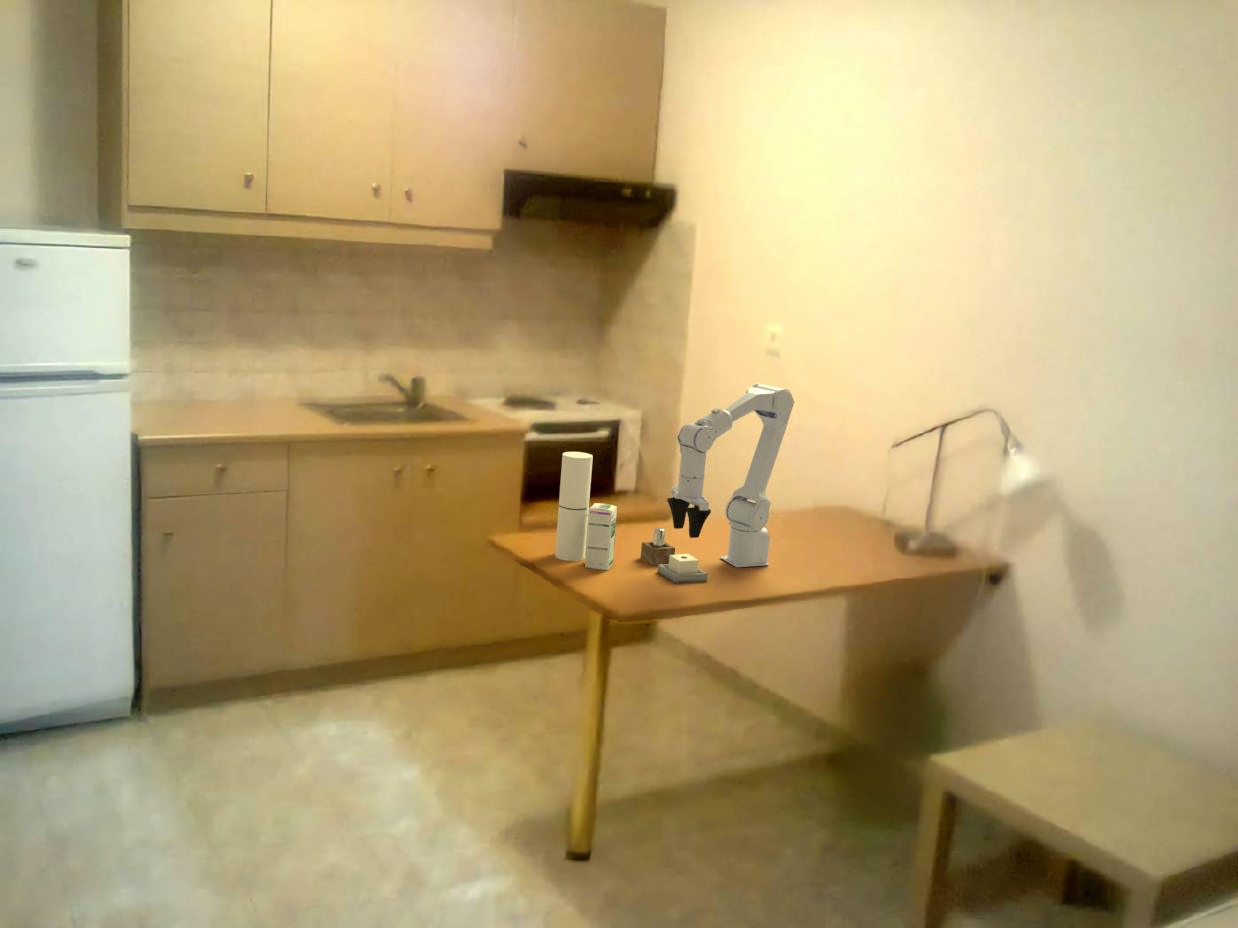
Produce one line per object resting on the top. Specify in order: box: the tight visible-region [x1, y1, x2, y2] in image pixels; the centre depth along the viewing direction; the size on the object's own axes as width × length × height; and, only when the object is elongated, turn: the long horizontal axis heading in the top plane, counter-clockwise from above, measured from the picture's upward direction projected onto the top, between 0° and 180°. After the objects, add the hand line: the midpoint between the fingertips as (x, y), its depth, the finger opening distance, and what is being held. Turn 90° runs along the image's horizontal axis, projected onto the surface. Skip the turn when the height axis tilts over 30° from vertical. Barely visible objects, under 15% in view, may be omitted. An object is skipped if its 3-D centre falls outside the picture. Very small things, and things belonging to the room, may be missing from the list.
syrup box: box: [584, 502, 618, 571], centre depth 251 cm, size 6×6×14 cm
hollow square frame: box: [640, 540, 676, 566], centre depth 259 cm, size 6×6×4 cm
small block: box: [668, 553, 700, 575], centre depth 249 cm, size 5×5×4 cm
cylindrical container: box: [554, 451, 594, 562], centre depth 255 cm, size 7×7×25 cm
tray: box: [657, 564, 708, 584], centre depth 249 cm, size 8×8×2 cm
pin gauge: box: [652, 527, 666, 548], centre depth 259 cm, size 3×3×8 cm
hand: (686, 532), depth 250 cm, fingers open, 7 cm apart
